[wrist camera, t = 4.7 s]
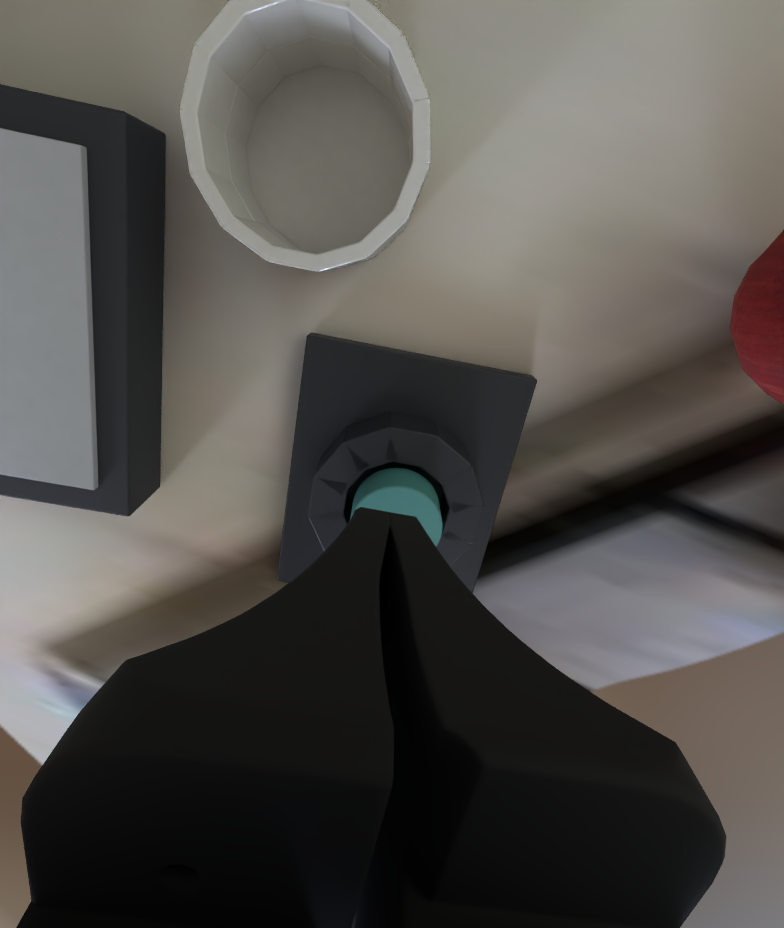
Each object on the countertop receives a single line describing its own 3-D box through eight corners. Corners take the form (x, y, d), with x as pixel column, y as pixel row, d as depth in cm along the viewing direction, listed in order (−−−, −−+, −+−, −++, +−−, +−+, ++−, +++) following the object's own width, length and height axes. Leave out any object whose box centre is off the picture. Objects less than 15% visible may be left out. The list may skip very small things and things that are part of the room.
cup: (403, 281, 17) (405, 290, 13) (231, 247, 16) (175, 243, 12) (441, 82, 15) (459, 11, 10) (244, 36, 14) (182, -56, 10)
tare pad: (465, 601, 22) (473, 642, 19) (280, 571, 21) (265, 609, 19) (532, 375, 18) (553, 392, 16) (309, 331, 17) (296, 343, 15)
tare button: (428, 550, 18) (431, 574, 17) (346, 535, 18) (342, 560, 17) (447, 475, 17) (452, 495, 16) (360, 459, 17) (357, 478, 15)
